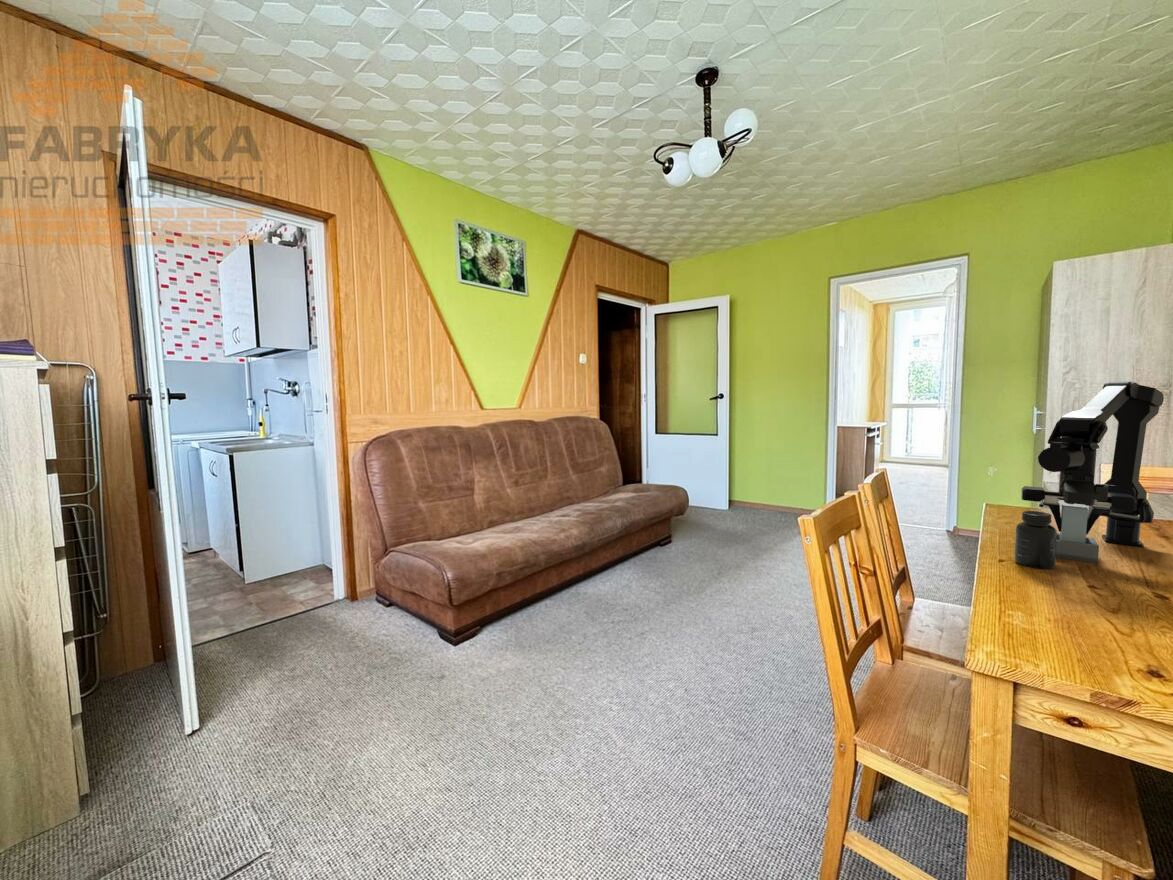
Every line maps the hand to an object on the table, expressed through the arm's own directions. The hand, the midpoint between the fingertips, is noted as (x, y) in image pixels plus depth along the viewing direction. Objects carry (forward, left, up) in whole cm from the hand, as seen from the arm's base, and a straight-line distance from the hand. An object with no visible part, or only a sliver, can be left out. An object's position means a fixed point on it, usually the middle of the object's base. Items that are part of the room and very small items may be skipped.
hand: (1072, 532), depth 113 cm
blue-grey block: (0, 0, -4) cm, 4 cm away
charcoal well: (0, 0, -6) cm, 6 cm away
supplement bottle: (+13, -7, -6) cm, 16 cm away
